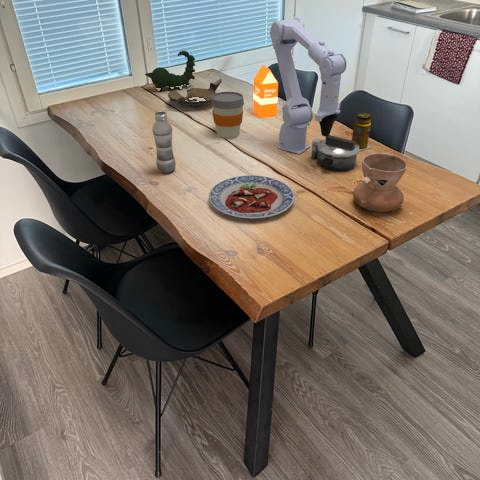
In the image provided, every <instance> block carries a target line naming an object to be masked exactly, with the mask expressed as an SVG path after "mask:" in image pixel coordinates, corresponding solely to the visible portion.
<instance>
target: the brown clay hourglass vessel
mask: <svg viewBox="0 0 480 480" xmlns="http://www.w3.org/2000/svg"><path fill="white" fill-rule="evenodd" d="M407 167H408V163H407V161H406V160H405V159H404V158H402V157H401V156H399V155H397V154H392V153H389V152H373V153H372V152H371V153H368V154H366V155H365V156H363V157H362V160H361V168H362V169H361V170H362V174H363V175H362V176H363V178H361V179H360V183H359V184H357V185H356V186H355V187H354V189H353V191H352V197H353V200H354V201H355V203H356V205H358V206H359V207H360V208H362V209H364V210H367V211H370V212H375V213H388V212H393V211H395V210H397V209H398V208H400V207H401V206H402V204H403V203H404V200H405V198H404V197H405V196H404V193H403V191H402V190H401V189H400V187H398V186H397V184H398V183H399V182H400V180H401V179H402V178H403V176H404V174H405V173H406V170H407Z"/></svg>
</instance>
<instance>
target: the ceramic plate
mask: <svg viewBox="0 0 480 480" xmlns="http://www.w3.org/2000/svg"><path fill="white" fill-rule="evenodd" d="M208 196H209V202H210V204H211V205H212V206H213V207H214V208H215V209H216V210H217V211H219V212H221V213H222V214H225V215H228V216H232V217H234V218H241V219H248V220H249V219H250V220H251V219H265V218H270V217H273V216H274V217H275V216H277V215H280V214H282V213H284V212H286V211H287V210H289V209H290V208H291V207H292V205H293V204H294V202H295V197H296V196H295V193H294V191H293V189H292V188H291V186H289V185H288V184H286V183H285V182H283V181H281V180H279V179H276V178H273V177H269V176H264V175H250V174H249V175H239V176H238V175H237V176H234V177H230V178H226V179H224V180H222V181H220V182H218V183H217V184H215V185H214V186H213V187H212V188H211V190H210V191H209V195H208Z"/></svg>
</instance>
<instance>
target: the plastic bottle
mask: <svg viewBox="0 0 480 480" xmlns="http://www.w3.org/2000/svg"><path fill="white" fill-rule="evenodd" d="M167 116H168V115H167V112H166V111H163V110H162V111H155V113H154V120H155V122H154V124H153V126H152V135H153V138H154V142H155V143H154V144H155V149H156V159H155V161H156V162H155V163H156V167H157V170H158V171H159V172H161V173H166V174H168V173H172V172H174V170H175V169H176V165H177V163H176V159H175V155H174V151H173V127H172V125H171V124H170V122H169V121H168V120H167V119H168V117H167Z"/></svg>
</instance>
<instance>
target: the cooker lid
mask: <svg viewBox="0 0 480 480" xmlns="http://www.w3.org/2000/svg"><path fill="white" fill-rule="evenodd" d="M312 144H313V145H317V146H318V148H317V149H318V151H319V152H320V153H322V154H324V155H326V156H330V157H335V158H348V157H353V156H355V155H358V154H359V152H360V151H359V145H358V144H357V143H356V141H352V139H348V138H343V137H339V136H335V135H330V134H329V136H328V137H325V139H319V138H315V139H313V140H312V142H311V145H312Z"/></svg>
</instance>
